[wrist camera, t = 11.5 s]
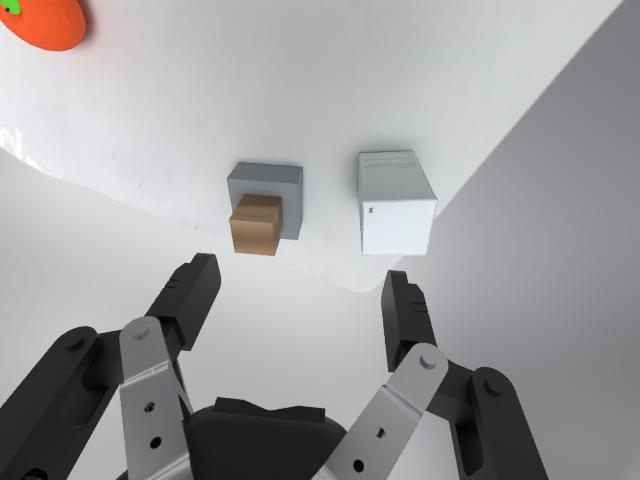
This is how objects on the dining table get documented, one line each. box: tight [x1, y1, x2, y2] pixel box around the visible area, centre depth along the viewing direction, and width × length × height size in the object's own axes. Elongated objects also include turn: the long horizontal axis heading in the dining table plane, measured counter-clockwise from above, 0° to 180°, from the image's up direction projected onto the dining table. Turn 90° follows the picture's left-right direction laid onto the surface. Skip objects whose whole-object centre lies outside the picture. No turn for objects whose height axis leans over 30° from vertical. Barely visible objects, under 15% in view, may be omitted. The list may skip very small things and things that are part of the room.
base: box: [227, 163, 303, 240], centre depth 41 cm, size 9×9×5 cm
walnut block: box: [229, 194, 283, 256], centre depth 37 cm, size 5×5×6 cm
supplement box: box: [358, 151, 438, 255], centre depth 35 cm, size 7×7×13 cm
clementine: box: [0, 0, 85, 51], centre depth 28 cm, size 8×7×7 cm
